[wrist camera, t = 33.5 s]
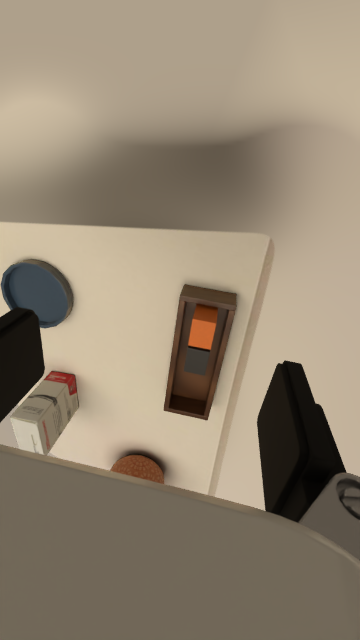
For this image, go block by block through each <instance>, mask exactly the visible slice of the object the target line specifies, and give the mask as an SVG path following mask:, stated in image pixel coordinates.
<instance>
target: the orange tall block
mask: <svg viewBox="0 0 360 640" xmlns="http://www.w3.org/2000/svg"><path fill="white" fill-rule="evenodd" d="M217 314H218V308H217V307H212V306H207V305H201V304H197V305H196V308H195V312H194V316H193V320H192V326H191V331H190V337H189V343H188V345H190V346H194V347H199V348H204V349H209V350H211V346H212V341H213V337H214V333H215V328H216V324H217Z"/></svg>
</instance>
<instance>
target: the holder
mask: <svg viewBox="0 0 360 640" xmlns="http://www.w3.org/2000/svg"><path fill="white" fill-rule="evenodd" d="M197 304H201V305H207V306H212V307H217V308H218V314H217V324H216V328H215V333H214V337H213V341H212V346H211V350H210V355H209V359H208V364H207V368H206V373H205V376H203V375H198V374H194V373H189V372H184V365H185V360H186V354H187V349H188V343H189V337H190V331H191V326H192V320H193V316H194V312H195V308H196V305H197ZM236 306H237V304H236V294H233V293H228V292H222V291H217V290H211V289H206V288H201V287H195V286H190V285H184V287H183V290H182V292H181V294H180V300H179V306H178V313H177V320H176V327H175V334H174V341H173V348H172V355H171V362H170V369H169V376H168V383H167V390H166V397H165V404H164V411H168V412H172V413H177V414H181V415H186V416H190V417H195V418H199V419H204V420H208V417H209V413H210V409H211V405H212V401H213V397H214V393H215V389H216V385H217V381H218V377H219V374H220V370H221V366H222V362H223V358H224V354H225V350H226V346H227V342H228V338H229V334H230V330H231V326H232V322H233V318H234V314H235V310H236Z"/></svg>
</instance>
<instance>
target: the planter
mask: <svg viewBox="0 0 360 640" xmlns="http://www.w3.org/2000/svg"><path fill="white" fill-rule="evenodd" d="M110 471H113V472H117V473H121V474H125V475H129V476H133V477H137V478H141V479H145V480H149V481H153V482H157V483H161V484H164V476H163V473H162V471H161V469H160V467H159V466H158V465H157V464H156V463H155V462H154V461H153V460H151V459H149V458H147V457H145V456H141V455H129V456H126V457H123V458H121V459H119V460H118V461H117V462H116V463H115V464H114V465H113V467H112V468H111V470H110Z"/></svg>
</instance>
